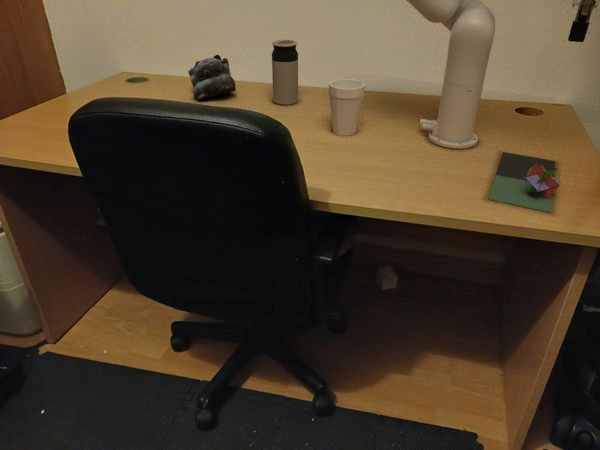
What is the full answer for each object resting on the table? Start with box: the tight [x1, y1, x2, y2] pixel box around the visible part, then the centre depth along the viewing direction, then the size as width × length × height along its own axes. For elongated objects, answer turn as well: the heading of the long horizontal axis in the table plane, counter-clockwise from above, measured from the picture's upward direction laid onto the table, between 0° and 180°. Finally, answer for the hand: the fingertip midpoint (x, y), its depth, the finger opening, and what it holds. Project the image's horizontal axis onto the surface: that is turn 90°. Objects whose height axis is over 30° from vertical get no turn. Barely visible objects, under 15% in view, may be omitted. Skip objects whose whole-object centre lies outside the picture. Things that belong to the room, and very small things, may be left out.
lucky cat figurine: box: [187, 54, 237, 101], centre depth 155 cm, size 15×12×14 cm
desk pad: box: [487, 151, 556, 214], centre depth 108 cm, size 12×26×1 cm, turn 154°
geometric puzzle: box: [524, 163, 561, 199], centre depth 100 cm, size 7×7×8 cm
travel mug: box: [271, 39, 299, 106], centre depth 148 cm, size 8×8×18 cm
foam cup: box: [328, 78, 366, 136], centre depth 128 cm, size 10×9×13 cm
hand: (575, 40), depth 106 cm, fingers closed
